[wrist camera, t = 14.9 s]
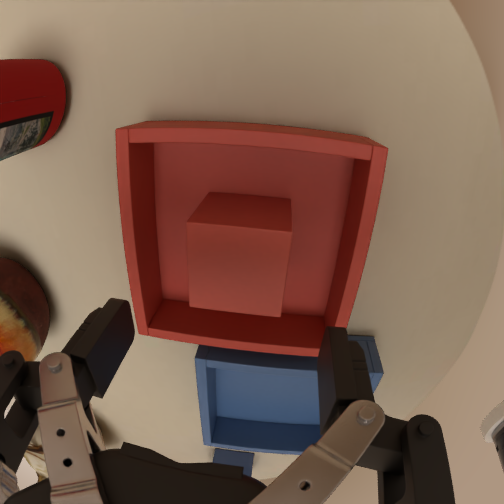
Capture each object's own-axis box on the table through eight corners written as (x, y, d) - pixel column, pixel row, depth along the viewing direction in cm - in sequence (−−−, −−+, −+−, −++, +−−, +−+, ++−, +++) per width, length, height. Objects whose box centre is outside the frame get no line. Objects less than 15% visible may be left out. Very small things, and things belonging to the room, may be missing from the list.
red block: (291, 198, 19) (293, 232, 14) (282, 270, 21) (280, 318, 17) (208, 191, 19) (185, 221, 15) (208, 262, 22) (188, 307, 17)
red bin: (367, 137, 17) (388, 148, 14) (331, 320, 24) (336, 358, 20) (146, 121, 18) (114, 128, 14) (156, 300, 24) (138, 334, 21)
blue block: (254, 453, 35) (250, 485, 30) (251, 466, 37) (247, 496, 33) (215, 448, 35) (208, 480, 31) (216, 462, 37) (210, 491, 33)
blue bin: (374, 336, 24) (384, 373, 20) (334, 424, 30) (337, 455, 27) (206, 321, 25) (194, 358, 21) (210, 414, 31) (203, 445, 27)
